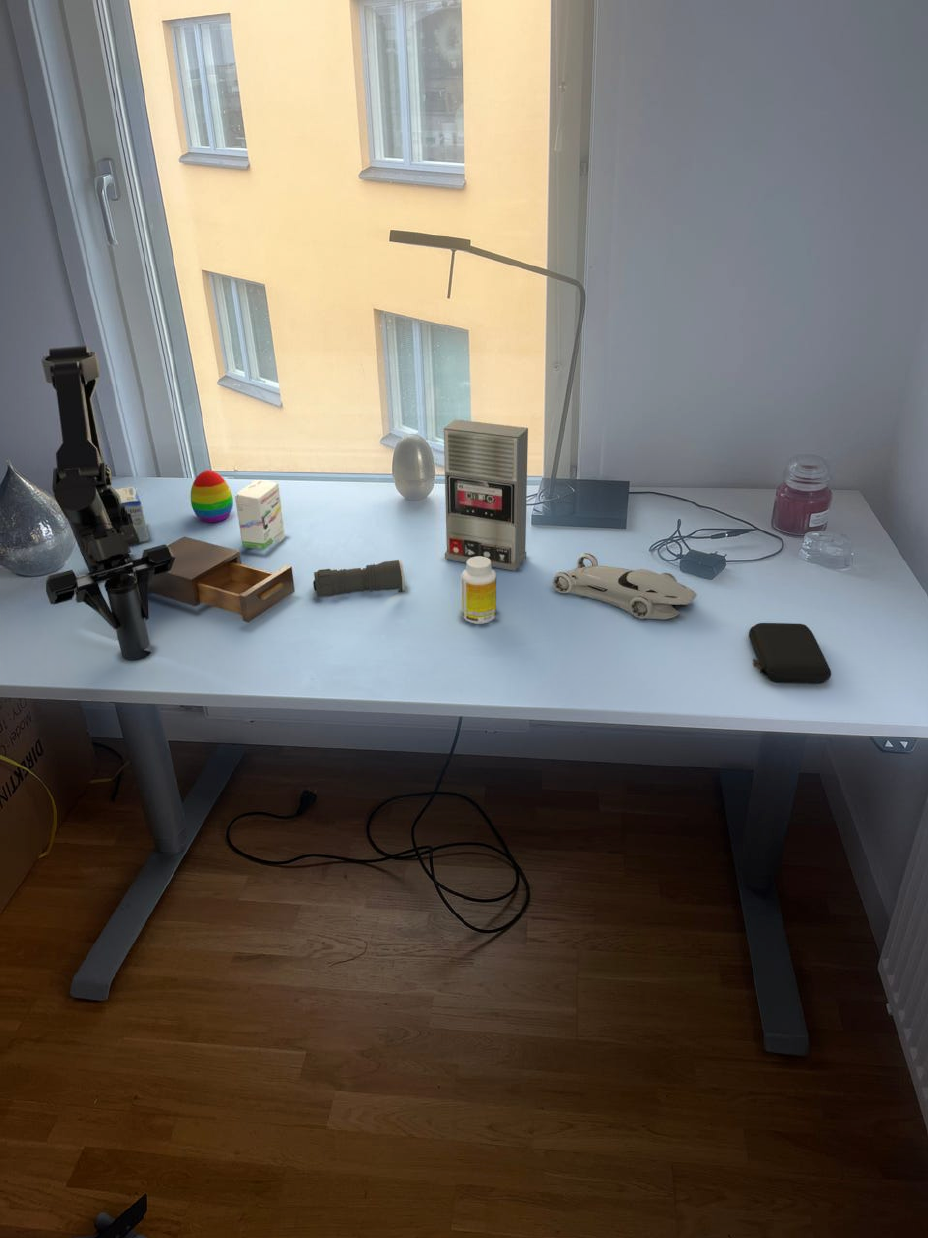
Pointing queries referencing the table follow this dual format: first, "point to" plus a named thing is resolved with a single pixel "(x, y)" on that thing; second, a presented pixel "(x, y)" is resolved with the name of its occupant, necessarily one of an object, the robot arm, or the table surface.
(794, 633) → the carrying case
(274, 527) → the ink box
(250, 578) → the drawer
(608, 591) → the car model
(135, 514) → the medicine box
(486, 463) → the cassette tape recorder
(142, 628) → the canister
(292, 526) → the table surface
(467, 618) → the supplement bottle
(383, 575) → the flashlight
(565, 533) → the table surface
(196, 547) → the drawer unit
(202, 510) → the decorative egg
